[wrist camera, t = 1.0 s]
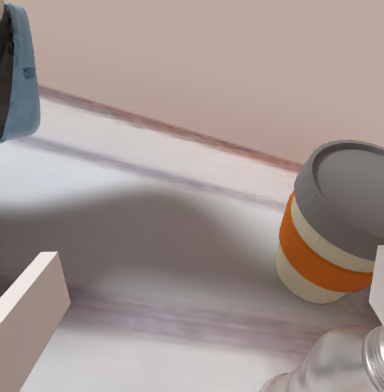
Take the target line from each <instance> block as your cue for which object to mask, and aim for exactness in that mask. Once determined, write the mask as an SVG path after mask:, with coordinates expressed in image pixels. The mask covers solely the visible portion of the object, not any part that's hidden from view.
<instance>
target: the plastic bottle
mask: <svg viewBox="0 0 384 392" xmlns="http://www.w3.org/2000/svg"><path fill="white" fill-rule="evenodd" d="M259 392H384V326H383V325H380V326H378V327H376V328H374V329H373V330H371V329H368V328H364V327H358V326H348V327H340V328H336V329H333V330H330V331H329V332H327V333H325V334H324V335H323V336H322V337H321V338H320V339H319V340H318V341H317V342H316V343H315V344H314V345H313V347H312V349H311V350H310V352H309V354H308V355H307V357H306V358H305V360H304V362H303V363H302V364H301V365H300V366H299V367H298V368H297V369H296V370H294V371H292V372H290V373H284V374H281V375H277V376H274V377H272V378H271V379H269V380H268V381H267V382H266V383H265V384H264V385H263V386H262V388H261V389H260V391H259Z"/></svg>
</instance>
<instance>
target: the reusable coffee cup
mask: <svg viewBox="0 0 384 392" xmlns="http://www.w3.org/2000/svg"><path fill="white" fill-rule="evenodd" d="M279 239H280V243H279V246H278V249H277V252H276V256H275V266H276V270H277V273H278V276H279V277H280V279H281V281H282V282H283V284H284V285H285V286H286V287H287V288H288V289H289V290H290V291H291V292H292V293H293V294H295V295H296V296H298V297H300V298H302V299H304V300H306V301H309V302H312V303H318V304H326V303H331V302H334V301H336V300H338V299H340V298H341V297H343V296H344V295H346V294H348V293H349V292H356V291H359V290H361V289H364V288H366V287H368V286H369V285H371V284H372V278H373V272H374V266H375V260H376V254H377V248H378V245H384V148H383V147H379V146H377V145H374V144H370V143H366V142H362V141H354V140H338V141H333V142H329V143H326V144H324V145H322V146H320V147H319V148H317V149H316V150H315V151H314V152H313V153H312V155H311V156H310V157H309V159H308V160H307V162H306V163H305V165H304V166H303V168H302V169H301V171H300V172H299V174H298V175H297V178H296V180H295V183H294V191H293V193H292V194H291V195H290V197H289V200H288V203H287V206H286V210H285V213H284V216H283V220H282V223H281V227H280V232H279Z"/></svg>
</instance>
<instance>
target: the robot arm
mask: <svg viewBox="0 0 384 392" xmlns="http://www.w3.org/2000/svg"><path fill="white" fill-rule="evenodd" d="M35 71H36V68H35V58H34V50H33V44H32V37H31V32H30V26H29V21H28V17H27V14H26V11H25V10H24V9H23V8H22V7H20V6H14V5H12V4H10V3H6V4H4V1H3V0H0V144H1V143H3V142H4V141H7V140H12V139H17V138H23V137H27V136H30V135H32V134H34V133H35V132H36V131H37V129H38V128H39V125H40V101H39V90H38V82H37V76H36V74H35ZM369 303H370V305H371V306H372V308H373V310H374V311H375V313H376V315H377V316H378V318H379V320H380V321H381V323H382V325H383V326H384V245H378V248H377V254H376V260H375V266H374V272H373V278H372V284H371V290H370V296H369ZM70 304H71V301H70V297H69V293H68V290H67V286H66V282H65V278H64V274H63V270H62V266H61V262H60V258H59V254H58V252H40V254H39V255H38V256H37V257H36V258H35V259H34V260H33V261H32V263H31V264H30V265H29V266H28V267H27V268H26V269H25V271H24V272H23V273H22V274H21V275H20V276H19V277H18V278H17V280H16V281H15V282H14V283H13V284H12V285H11V286H10V287H9V289H8V290H7V291H6V292H5V293H4V294H3V295H2V297H1V298H0V392H19V391H20V389H21V388H22V386H23V384H24V383H25V381H26V379H27V377H28V376H29V374H30V372H31V371H32V369H33V367H34V365H35V364H36V362H37V360H38V359H39V357H40V355H41V353H42V352H43V350H44V348H45V347H46V345H47V343H48V342H49V340H50V338H51V336H52V335H53V333H54V331H55V330H56V328H57V326H58V324H59V323H60V321H61V319H62V318H63V316H64V314H65V312H66V311H67V309H68V307H69V306H70Z"/></svg>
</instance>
